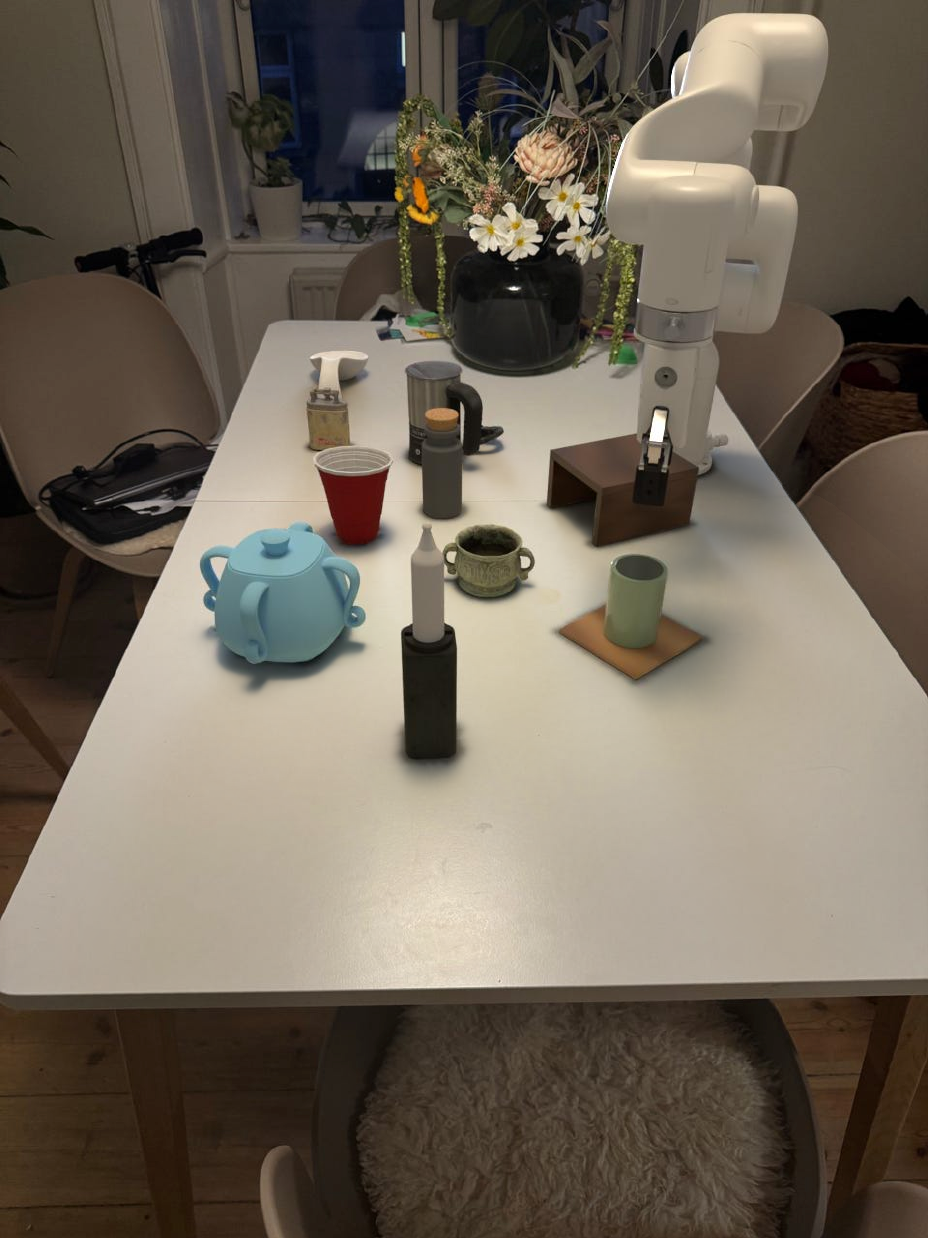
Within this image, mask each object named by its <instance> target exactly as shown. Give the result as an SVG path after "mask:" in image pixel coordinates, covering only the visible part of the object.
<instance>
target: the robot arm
mask: <svg viewBox="0 0 928 1238" xmlns="http://www.w3.org/2000/svg"><path fill="white" fill-rule="evenodd" d="M828 60H829V38H828V34H827V31H826V28H825V26H824V24H823V22H822V21H820V19H819V18H817V17H816V16H814V15H812V14H806V13H771V12H770V13H765V12H764V13H763V12H761V13H760V12H759V13H758V12H757V13H756V12H738V13H729V14H723V15H720V16H718V17H716V18H714V19H712V20H710V21H709V22H708V23H706V24H705V25H704V26H703V27H702V28H701V29H700V30H699V32H698V33H697V35H696V37H695V38H694V41H693V43H692V45H691V49H690V50H689V51H687V52H684V53H683V54H681V55H680V56H679V57H678V58H677V59H676V61H675V62H674V65H673V68H672V73H671V81H670V83H671V84H670V85H671V86H670V90H671V98H670V99H668V100H667V101H666V102H664V103H662V104H661V105H659V106H658V107H656V108H655V109H653V110H651V111H650V112H648V113H646V114H645V115H644V116H643V117H641V118H640V119H639V120H637V122H636V123H635V124H634V125H633V126H632V127H631V128H630V130H629V131H628V132H627V133H626V135H625V138H624V139H623V141H622V143H621V146H620V149H619V151H618V155H617V157H616V161H615V164H614V168H613V170H612V174H611V177H610V180H609V185H608V189H607V196H606V201H605V219H606V224H607V227H608V230H609V232H610V234H611V235H612V236H613V237H614V238H615V239H616V240H617V241H619V242H622V243H625V244H629V245H639V246H640V245H643V247H642V248H643V249H642V256H641V266H640V274H639V282H638V291H637V301H636V309H635V318H634V325H633V326H634V327H633V337H635V339H637V340H638V341H640V342H641V343H644V347H643V355H642V364H641V374H640V382H639V392H638V393H639V394H638V405H637V406H638V407H637V425H636V433H637V440H638V442H639V443H641V444H642V450H641V456H640V462H639V466H638V465H637V469H636V476H635V484H634V492H633V502H634V503H635V504H643V505H651V506H659V507H661V506H663V505H664V501H665V495H666V488H667V482H668V475H669V469H667V466H669V465H670V464H671V458H672V451H673V452H674V453H676V454H678V455H679V456H681V457H683V458H684V459H686V460H687V461H689V462H691V463H692V464H694V465H696V466H697V467H699V471H698V476H700V475H702V474H705V473H707V472H708V471H710V469H711V468H712V464H713V458H712V457H713V456H712V455H711V454H710V451H712V450H713V449H714V448H719V447H724V446H727V445H728V444H729V437H728V435H727V434H726V433H723V434H717V435H714V436H713V434H712V432H711V431H708V430H709V425H710V419H711V415H712V414H711V413H712V408H713V402H714V396H715V390H716V385H717V379H718V374H719V369H720V355H719V351H718V348H717V345H716V344H715V343H714V341H713V339H714V333H715V332H723V333H733V334H734V333H735V334H747V335H748V334H749V335H759V334H765V333H766V332H768V331H770V329H772V328H773V326H774V325H775V323H776V321H777V319H778V316H779V313H780V310H781V304H782V300H783V296H784V290H785V286H786V281H787V276H788V272H789V267H790V262H791V257H792V252H793V247H794V243H795V238H796V237H795V236H796V233H797V232H796V231H797V226H798V217H799V206H798V200H797V197H796V195H795V193H794V192H792V190H791V189H788V188H786V187H783V186H778V185H764V184H757V182H756V180H755V177H754V175H753V174H752V173H751V172H750V168H751V163H752V162H751V161H752V156H753V151H754V150H753V149H754V148H753V146H754V145H753V140H752V136H753V133H754V131H767V132H771V131H772V132H794V131H797V130H799V129H801V128H802V127H803V126H805V125H806V124H807V123H808V121H809V119H810V118H811V116H812V114H813V112H814V110H815V107H816V105H817V101H818V98H819V95H820V93H821V90H822V87H823V84H824V81H825V77H826V73H827V67H828ZM728 259H730V260H742V261H744V260H745V261H751V262H752V263H753V264H748V263H736V262H735V263H734V262H726V260H728Z"/></svg>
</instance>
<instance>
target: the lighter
mask: <svg viewBox="0 0 928 1238" xmlns="http://www.w3.org/2000/svg"><path fill="white" fill-rule="evenodd" d="M318 394H324V396H325V397H326V398H318ZM338 395H339V391H337V390H331V388H324V389H318V388H316V387H315V388H312V389H311V390H310V391H309V396H310V398H309V399H307V400H306V415H307V427H308V437H309V448H311V449H312V450H317V451H318V450H320V451H323V450H326V449H329V448H334V447H339V446H352V445H351V433H350V420H349V407H348V401H347V400H345V399H343V398H342V399H338V397H339V396H338ZM330 396H333V397H334V399H332V398H330Z"/></svg>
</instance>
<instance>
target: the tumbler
mask: <svg viewBox="0 0 928 1238" xmlns="http://www.w3.org/2000/svg"><path fill="white" fill-rule="evenodd" d="M668 575H669V569H668V566H667V565H666V564H665V563H664V561H661V559H658V558H656V557H654V556H651V555H647V554H641V553H627V554H623V555H620V556H617V557H615V558H614V559H613V560H612V562H611V563H610V570H609V578H608V586H607V595H606V602H605V605H606V610H605V618H604V627H603V632H604V635H605V637H606V638H607V639H608V640H609V641H611V642H612V643H614V644H616V645H618V646H622V647H626V648H643V647H647V646H649V645H651V644H653V643H654V642H655V641H656V639H657V636H658V630H659V624H660V618H661V614H662V611H663V607H664V606H663V605H664V599H665V593H666V586H667V580H668Z"/></svg>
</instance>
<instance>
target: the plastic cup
mask: <svg viewBox="0 0 928 1238" xmlns="http://www.w3.org/2000/svg"><path fill="white" fill-rule="evenodd" d="M312 461H313V464H314V467H315V468H316V470H317V471H318V473H319V478H320V481H321V484H322V487H323V491H324V494H325V499H326V502H327V505H328V511H329V513H330V518H331V520H332V522H333V526H334V530H335V534H336V537H337V538H338V540H339V541H340V542H341V543H344V544H347V545H353V546H354V545H355V546H358V545H366V544H369V543H372V542H373V541H375V540H376V539H377V537H378V534H379V531H380V523H381V517H382V516H381V515H382V514H383V513H382V512H383V507H384V506H383V505H384V501H385V492H386V484H387V480H388V476H389V475H388V474H389V472H390V469H391V467H392V464H393V463H394V457H393V455H392V454H391V453H390V452H387V451H386V450H384V449H381V448H376V447H372V446H364V445H351V446H339V447H334V448H329V449H326V450H320V451H319V452H316V454H315V455H314V456H313V457H312Z"/></svg>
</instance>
